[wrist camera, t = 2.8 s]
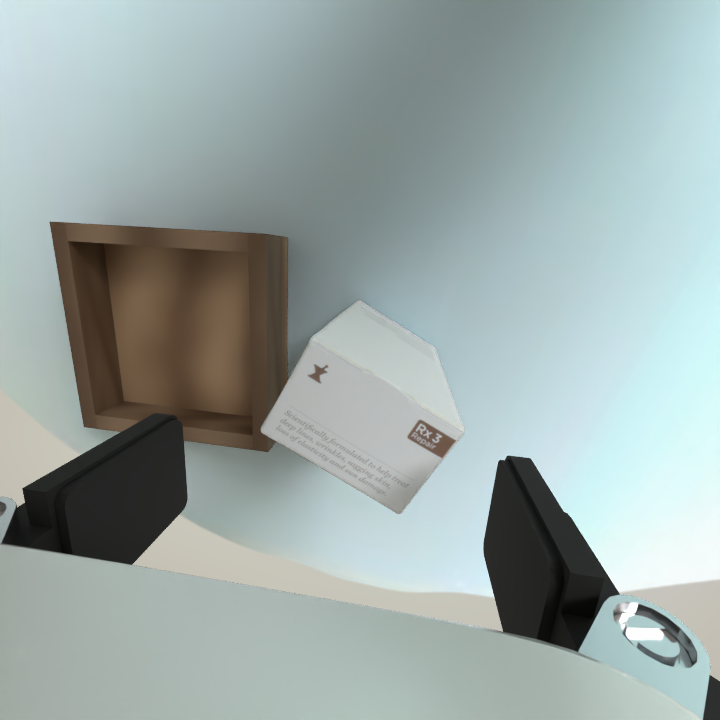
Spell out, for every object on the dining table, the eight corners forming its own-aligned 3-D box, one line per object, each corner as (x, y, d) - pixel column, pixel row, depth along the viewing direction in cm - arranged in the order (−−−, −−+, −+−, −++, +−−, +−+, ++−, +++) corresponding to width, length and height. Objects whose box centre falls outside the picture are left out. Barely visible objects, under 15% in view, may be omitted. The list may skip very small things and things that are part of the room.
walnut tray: (287, 237, 23) (265, 234, 19) (287, 427, 26) (267, 452, 23) (100, 226, 24) (49, 221, 21) (123, 406, 28) (83, 426, 25)
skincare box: (326, 352, 24) (244, 437, 13) (360, 293, 23) (302, 330, 11) (404, 400, 24) (394, 528, 13) (443, 345, 23) (470, 432, 11)
